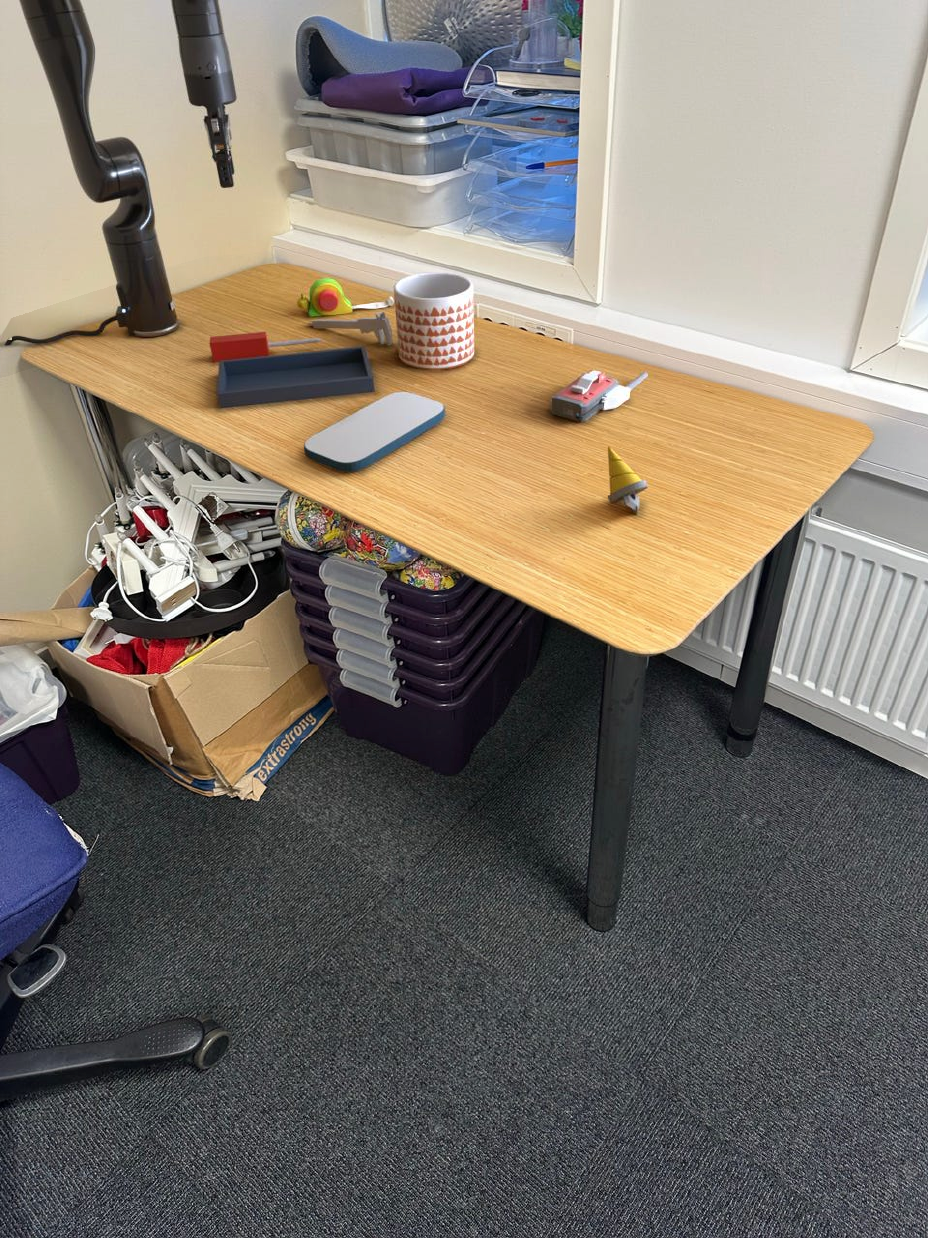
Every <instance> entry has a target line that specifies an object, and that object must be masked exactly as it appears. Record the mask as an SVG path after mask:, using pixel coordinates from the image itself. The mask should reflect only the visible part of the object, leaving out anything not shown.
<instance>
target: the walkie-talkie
mask: <svg viewBox="0 0 928 1238" xmlns="http://www.w3.org/2000/svg"><path fill="white" fill-rule="evenodd" d="M647 377H648V372H642V373H641V374H639V376H637V377H635V379H633V380H632V381H631V382H629V383H628V384H627V385H620V384H619V381H618V380H616V379H615V378H612V377H608V376H606V373H605V372H603V371H599V370H596V369H595V370H594V369H590V370H589V371H587V372H586V373H583V374H582V375H580V376H578V377H577V378H576V379H575V380H573V381H571V383H569V384H568V385H566V386H565V387H564V388H562V389H561V390H559V391H558V392H557V393H555V394H554V395H552V396H551V402H550V404H551V405H550V412H551V414H553V415H554V416H557V417H561V418H564V419H567V420H568V419H569V420H571V421H575V422H578V423H583V422H587V421H588V420H589V419H591V418H592V417H593V416H595V415H596V414H597V413H598V412H600V411H601V410H602V411H608V410H612V409H617V408H619V406H620V405H622V404H623V403H624V402H626V401H628V400H630V395H631V394H630V393H631V391H632V390H633V389H634V388H636V387H637V386H639V385H640V384H641V382H642V381H644V380H645V379H646V378H647Z"/></svg>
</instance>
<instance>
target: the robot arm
mask: <svg viewBox="0 0 928 1238" xmlns="http://www.w3.org/2000/svg"><path fill="white" fill-rule="evenodd" d="M18 1H19V4H20V7H21V11H22V14H23V17H24V20H25V23H26V25H27V28H28V31H29V34H30V37H31V40H32V42H33V45H34V48H35V50H36V53H37V55H38V57H39V60H40V63H41V65H42V68H43V72H44V74H45V77H46V79H47V82H48V86H49V89H50V91H51V94H52V97H53V100H54V103H55V106H56V109H57V112H58V116H59V120H60V123H61V127H62V131H63V133H64V137H65V141H66V145H67V148H68V152H69V156H70V160H71V162H72V163H71V164H72V166H73V170H74V172H75V175H76V178H77V180H78V182H79V184H80V187H81V188H82V190H83V192H84V193H85V195H86V196H87V197H88V199H89V200H90V201H92V202H94V203H97V204H102V203H107V202H111V201H116V200H119V203H118V205H117V207H116V209H115V210H114V212H113V213H112V214H111V215H110V216H108V217H107V218H106V219H105V220H104V221H103V223H102V225H101V230H102V235H103V238H104V241H105V244H106V247H107V252H108V255H109V259H110V262H111V266H112V270H113V273H114V277H115V281H116V285H115V290H116V293H117V298H118V300H119V304H120V305H117V308H116V311H115V315H113V316H111V317H108V318H107V319H105V320H103V321H102V322H101V323H100V324H99V327H98V328H97V329H96V330H81V329H77V330H76V329H75V330H68V331H65V332H62V333H59V334H56V335H54V336H51V337H48V338H39V339H37V338H32V337H27V336H24V335H13V336H11V337H12V340H8V339H7V340H6V341H5V343H4V346H5V347H6V346H10V345H12V343H15V342H16V341H21V342H25V343H29V344H36V345H44V344H45V345H46V344H49V343H53V342H57V341H60V340H62V339H64V338H67V337H71V336H88V337H93V336H98V335H101V334H102V333H103V332H104V330H105V328H106V327H107V326H108V325H109V324H111V323H114V322H117V324H118V327H119V328H126V329H127V333H128V336H129V337H141V338H153V337H160V336H164V335H167V334H170V333H173V332H174V331H176V330H177V329H178V328H179V327H180V323H179V319H178V315H177V312H176V309H175V307H176V303H175V299H174V298H173V295H172V291H171V287H170V283H169V278H168V275H167V271H166V267H165V263H164V259H163V254H162V250H161V245H160V242H159V238H158V233H157V230H156V212H155V207H154V203H153V199H152V194H151V188H150V187H151V186H150V181H149V176H148V172H147V168H146V165H145V164H146V163H145V162H144V161H145V160H144V159H143V156H142V153H141V152H140V149H139V148H138V147H137V145H136V143H135V142H133V141H132V140H131V139H130V138H128V137H125V136H116V137H112V138H111V137H110V138H106V139H101V140H97V141H96V137H95V135H94V131H93V127H92V122H91V117H90V94H91V88H92V87H91V86H92V81H93V77H94V71H95V61H96V46H95V41H94V38H93V34H92V31H91V28H90V25H89V22H88V19H87V16H86V13H85V9H84V6H83V3H82V1H81V0H18ZM170 2H171V8H172V9H171V10H172V14H173V19H174V25H175V29H176V35H177V41H178V51H179V57H180V63H181V68H182V72H183V78H184V82H185V89H186V92H187V98H188V102H189V104H190V105H192V106H194V107H204V108H205V110H206V114H207V115H204V116H203V125H204V129H205V131H206V136H207V141H208V145H209V148H210V150H211V153H212V155H211V158H212V160H213V162H214V163H215V165H216V171H217V175H218V181H219V186H220V187H221V188H222V189H229V188H230V189H231V188H234V186H235V182H234V176H233V175H234V174H235V167H234V166H235V165H234V161H233V154H232V147H233V145H232V142H231V141H232V139H233V137H232V131H231V119H230V114H229V113H227V114H226V106H228V105H231V104H234V103H235V102H236V101H237V98H238V97H237V91H236V85H235V79H234V75H233V67H232V63H231V62H232V61H231V55H230V51H229V46H228V43H227V39H226V36H225V29H224V24H223V18H222V13H221V8H220V3H219V0H170Z"/></svg>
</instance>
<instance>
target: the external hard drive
mask: <svg viewBox="0 0 928 1238" xmlns="http://www.w3.org/2000/svg"><path fill="white" fill-rule="evenodd" d="M445 417H446V408H445V405H444V404H443V403H442V402H440V401H438V400H435V399H432V398H429V397H426V396H423V395H420V394H417V393H415V392H410V391H397V392H392V393H389V394H387V395H384V396H382V397H381V398H379V399H377V400H376V401H375V400H374V401H373V402H371V403H370V404H368V405H366V406H365V407H363V408H360V409H358V410H357V411H355V412H353V413H351V414H350V415H348V416H346V417H344V418H342V419H341V420H338V421H337V422H335V423H333V424H331V425H330V426H328V427H325V428H324V429H322V430H320V431H318V432H317V433H315V434H313V435H312V436H309V438H307V439H306V440H305V442H304V444H303V451H304V455H305V456H306V458H307V459H309V460H310V461H312V462H315V463H317V464H320V465H322V466H324V467H327V468H329V469H332V470H334V471H337V472H340V473H355V472H358V471H361V470H364V469H365V468H367V467H370V466H372V465H373V464H375V463H376V462H378V461H379V460H381V459H383V458H384V457H386V456H388V455H389V454H391V453H393V452H394V451H396V450H397V449H399V448H401V447H403V446H404V445H406V444H407V443H410V442H411V441H413V440H414V439H416V438H418V437H419V436H421V435H422V434H424V433H426V432H427V431H429V430H430V429H432V428H435V426H437V425H439V424H440V423H441V422H442V421H443V420H444V419H445Z"/></svg>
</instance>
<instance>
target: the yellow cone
mask: <svg viewBox="0 0 928 1238" xmlns="http://www.w3.org/2000/svg"><path fill="white" fill-rule="evenodd" d="M607 458H608V475H609V495H608V496H607V499H608V501H609V503H610V504H616V503H619V502H622V501H623V503H624V505H626V506H627V507H629V508H631V510H632V512H634V513H635V514H636V515H638V514H639V508H640V498H639V495H638V494H640V493H641V492H643V491H645V490H646V489H648V488H649V486H648V484H647V481H646V479H641V478H640V477H639V476H638V475H637V474H636V473H635V472H634V470H632V468H630V466H629V465H628V464H626V462H625V461H624V460H623V459H622V458H621V457H620V456H619V455H618V454H617V453H616V452H615V451H614V450H613V449H612V448H611V447H610V446H607Z"/></svg>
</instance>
